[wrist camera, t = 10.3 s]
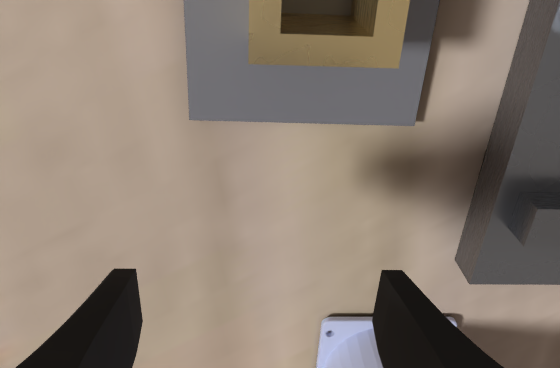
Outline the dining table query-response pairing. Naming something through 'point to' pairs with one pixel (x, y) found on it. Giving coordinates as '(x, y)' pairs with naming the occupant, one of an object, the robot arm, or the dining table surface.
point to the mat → (298, 71)
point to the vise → (521, 168)
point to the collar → (328, 35)
